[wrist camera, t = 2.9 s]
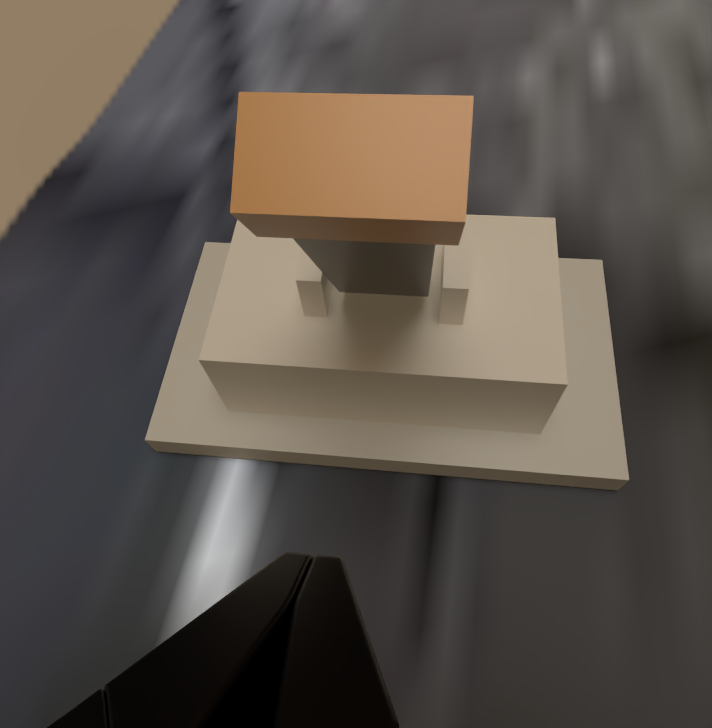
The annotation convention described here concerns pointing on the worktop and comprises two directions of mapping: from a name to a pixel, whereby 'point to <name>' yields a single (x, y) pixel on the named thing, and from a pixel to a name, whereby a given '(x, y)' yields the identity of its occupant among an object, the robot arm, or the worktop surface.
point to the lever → (356, 181)
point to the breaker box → (402, 363)
